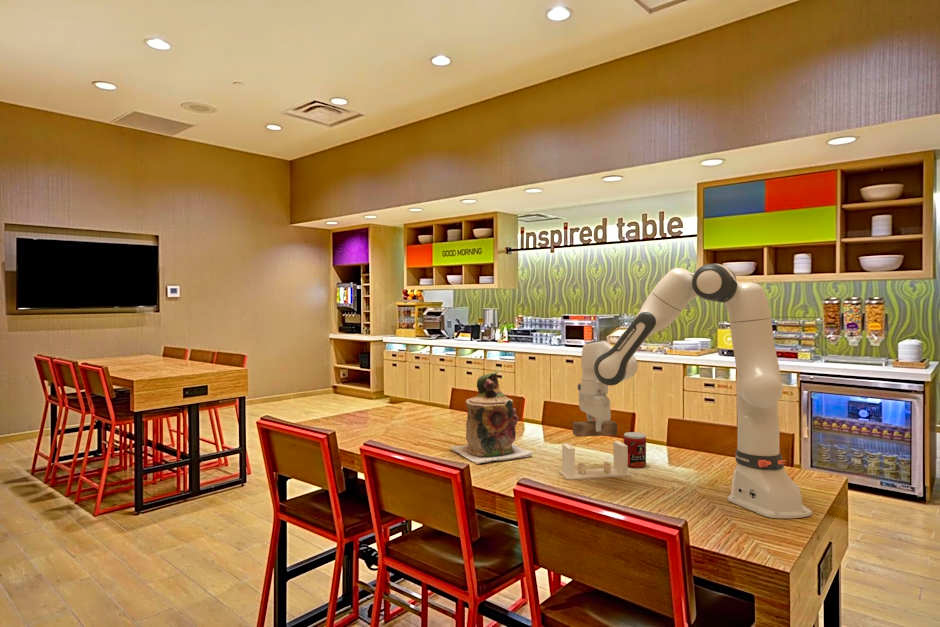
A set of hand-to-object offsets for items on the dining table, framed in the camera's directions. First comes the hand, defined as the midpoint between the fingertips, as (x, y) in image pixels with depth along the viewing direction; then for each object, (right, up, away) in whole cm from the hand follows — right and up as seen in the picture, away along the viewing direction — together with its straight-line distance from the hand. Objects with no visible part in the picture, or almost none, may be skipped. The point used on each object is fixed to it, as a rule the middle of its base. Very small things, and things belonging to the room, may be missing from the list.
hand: (594, 429), depth 198 cm
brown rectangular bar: (0, -2, 0) cm, 2 cm away
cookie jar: (-34, -15, +28) cm, 46 cm away
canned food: (+17, -15, +11) cm, 25 cm away
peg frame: (0, -15, 0) cm, 15 cm away
